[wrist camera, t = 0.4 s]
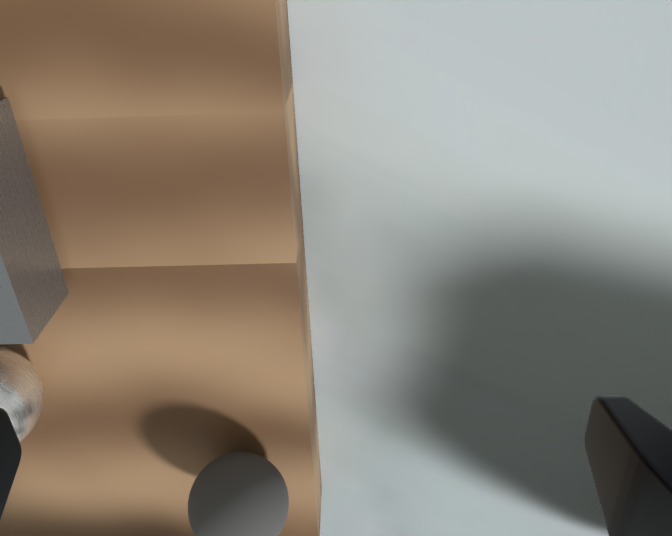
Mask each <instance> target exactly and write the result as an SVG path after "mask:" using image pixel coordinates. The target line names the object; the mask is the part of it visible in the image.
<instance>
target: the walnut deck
mask: <svg viewBox="0 0 672 536" xmlns="http://www.w3.org/2000/svg"><path fill="white" fill-rule="evenodd" d="M0 97H8V98H9V101H10V105H11V108H12V111H13V114H14V118H15V121H16V124H17V127H18V130H19V134H20V137H21V140H22V143H23V146H24V150H25V153H26V156H27V159H28V163H29V166H30V169H31V172H32V175H33V179H34V182H35V185H36V188H37V192H38V195H39V198H40V201H41V204H42V208H43V211H44V214H45V217H46V220H47V224H48V227H49V230H50V233H51V237H52V240H53V243H54V246H55V249H56V253H57V256H58V259H59V262H60V265H61V269H62V272H63V275H64V278H65V282H66V285H67V288H68V291H69V294H68V295H67V297H66V298H65V300H64V301H63V302H62V304H61V305H60V307H59V308H58V309H57V311H56V312H55V314H54V315H53V317H52V318H51V319H50V321H49V322H48V324H47V325H46V326H45V328H44V329H43V331H42V332H41V333H40V335H39V336H38V338H37V339H36V341H35V342H34V343H33V344H0V346H1V347H5V348H8V349H11V350H13V351H15V352H17V353H19V354H20V355H22V356H23V357H25V358H26V359H27V360H28V361H29V362H30V363H31V364H32V365H33V367H34V368H35V370H36V371H37V373H38V375H39V377H40V380H41V383H42V387H43V406H42V409H41V413H40V416H39V418H38V420H37V422H36V424H35V426H34V427H33V429H32V430H31V431H30V433H29V434H28V435H27V436H26V437H25V438H24V439H23V440H22V441H21V442H20V444H21V450H22V454H21V460H20V464H19V467H18V470H17V473H16V476H15V479H14V481H13V484H12V487H11V490H10V493H9V496H8V499H7V502H6V505H5V508H4V511H3V514H2V517H1V520H0V536H195V535H194V533H193V531H192V529H191V526H190V522H189V517H188V499H189V494H190V490H191V488H192V485H193V483H194V481H195V479H196V477H197V476H198V475H199V473H200V472H201V471H202V469H203V468H205V467H206V466H207V465H208V464H209V463H210V462H211V461H213V460H214V459H216V458H218V457H220V456H222V455H225V454H228V453H232V452H250V453H254V454H257V455H260V456H262V457H264V458H266V459H267V460H268V461H270V462H271V463H272V464H273V465H274V466H275V467H276V468H277V469H278V470H279V472H280V473H281V475H282V477H283V479H284V481H285V483H286V486H287V490H288V496H289V509H288V514H287V519H286V522H285V524H284V527H283V529H282V531H281V532H280V534H279V535H278V536H320V513H321V489H322V487H321V473H320V459H319V445H318V431H317V417H316V403H315V389H314V375H313V361H312V347H311V333H310V319H309V305H308V291H307V277H306V263H305V249H304V235H303V221H302V207H301V193H300V179H299V165H298V151H297V137H296V123H295V109H294V95H293V81H292V67H291V53H290V39H289V25H288V11H287V0H0Z"/></svg>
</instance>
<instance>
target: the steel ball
mask: <svg viewBox="0 0 672 536" xmlns="http://www.w3.org/2000/svg"><path fill="white" fill-rule="evenodd" d="M42 406H43V387H42V383H41V380H40V377H39V375H38V373H37V371H36V370H35V368H34V367H33V365H32V364H31V363H30V362H29V361H28V360H27V359H26V358H25V357H23V356H22V355H20V354H19V353H17V352H15V351H13V350H11V349H8V348H5V347H1V346H0V408H2V409H4V410H5V411H6V412H7V413H8V415H9V417H10V420H11V422H12V425H13V427H14V430H15V432H16V434H17V437H18V439H19V442H21V441H22V440H23V439H24V438H25V437H26V436H27V435H28V434H29V433H30V431H31V430H32V429H33V427H34V426H35V424H36V422H37V420H38V418H39V416H40V413H41V409H42Z"/></svg>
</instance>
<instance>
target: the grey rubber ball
mask: <svg viewBox="0 0 672 536" xmlns="http://www.w3.org/2000/svg"><path fill="white" fill-rule="evenodd" d="M288 509H289V496H288V490H287V486H286V483H285V481H284V479H283V477H282V475H281V473H280V472H279V470H278V469H277V468H276V467H275V466H274V465H273V464H272V463H271V462H270V461H268V460H267V459H266V458H264V457H262V456H260V455H257V454H254V453H250V452H232V453H228V454H225V455H222V456H220V457H218V458H216V459H214V460H213V461H211V462H210V463H209V464H208V465H207V466H206V467H205V468H203V469H202V471H201V472H200V473H199V475H198V476H197V477H196V479H195V481H194V483H193V485H192V488H191V490H190V494H189V499H188V517H189V522H190V526H191V529H192V531H193V533H194V535H195V536H278V535H279V534H280V532H281V531H282V529H283V527H284V524H285V522H286V519H287V514H288Z"/></svg>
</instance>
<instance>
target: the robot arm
mask: <svg viewBox="0 0 672 536" xmlns="http://www.w3.org/2000/svg"><path fill="white" fill-rule="evenodd" d="M585 449H586V453H587V457H588V461H589V464H590V468H591V472H592V475H593V479H594V483H595V486H596V490H597V493H598V497H599V501H600V504H601V508H602V512H603V515H604V519H605V523H606V526H607V530H608V533H609V536H672V430H671V429H669V428H668V427H667V426H665V425H664V424H663V423H661V422H660V421H659V420H657V419H656V418H654V417H653V416H652V415H650V414H649V413H648V412H646V411H645V410H644V409H642V408H641V407H639V406H638V405H637V404H635V403H634V402H633V401H631V400H630V399H628V398H627V397H625V396H621V395H603V396H597V397H596V398H595V399H594V400H593V403H592V406H591V410H590V415H589V419H588V424H587V428H586V432H585ZM21 454H22V450H21V444H20V442H19V439H18V437H17V434H16V432H15V430H14V427H13V425H12V422H11V420H10V417H9V415H8V413H7V412H6V411H5V410H4V409H2V408H0V520H1V517H2V514H3V511H4V508H5V505H6V502H7V499H8V496H9V493H10V490H11V487H12V484H13V481H14V479H15V476H16V473H17V470H18V467H19V464H20V460H21Z"/></svg>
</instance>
